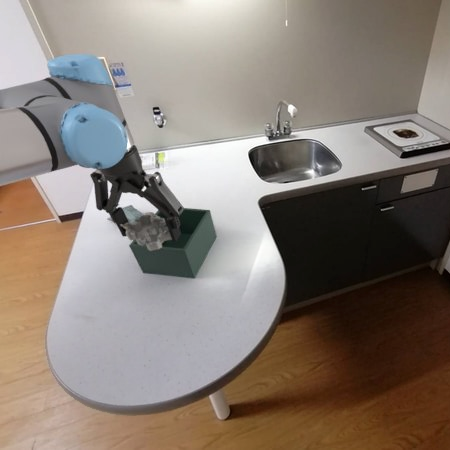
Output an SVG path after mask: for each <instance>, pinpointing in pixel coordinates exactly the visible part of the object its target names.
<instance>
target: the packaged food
mask: <svg viewBox="0 0 450 450" xmlns="http://www.w3.org/2000/svg"><path fill="white" fill-rule="evenodd" d="M122 209H123V211H124V213H125V215H126V217H127V219H128V221H129V223H130V224H133V223H134V222H135V219H138V218H140V217H141V215H144V214H145V213H143V212H141V211H140V210H138V209H136V208H135V207H134V206H133V205H132V204H130V205H127V206H124V207H122ZM106 220H107V221H109V222H112V223H114V222H113V220H112V218H111V216H109V217H107V218H106Z"/></svg>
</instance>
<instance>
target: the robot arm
mask: <svg viewBox="0 0 450 450" xmlns="http://www.w3.org/2000/svg"><path fill="white" fill-rule="evenodd" d="M104 65H105V64H104V63H103V62H102V60H101V59H100V58H99V57H98V56H97V55H93V54H89V53H75V54H66V55H60V56H57V57H55V58H54V57H53V58H51V59H49V60H48V61H47V62H46V66H47V70H48V74H49V76H48V77H45V78H44V79H43V78H42V79H40V80H35V81H31V82H27V83H22V84H19V85H15V86H10V87H6V88H2V89H0V187H2V186H7V185H10V184H13V183H17V182H21V181H23V180H27V179H28V180H29V179H31V178H34V177H38V176H42V175H45V174H49V173H52V172H56V171H59V170H64V169H67V168H71V167H74V166H79V167H82V168H84V169H93V170H94V171H93V172H92V173H90V175H89V176H90V178H91V180H92V183H93V186H94V187H93V188H94V196H95V197H94V199H95V207H96V209H97V210H98V211H105V212H106V213H107V214H109V217H111V218H112V220H113V222H112V223H114V224H115V225H116V226H117V228H118V230H119V232H120V234H121V235H122V237H127V235H126V229H125V228H123V227H121V226H120V224H123V225H124V224H125V223H127V222H129V221H128V219H127V217H126V215H125V213H124V211H123V209H122V208H123V207H121V206H120V201H121V197H122V194H129V193H130V194H133V195H137V196H139V197H140V199H141V198H143V199H145V200H146V201H147V202H149V204H151V206H153V207H155V209H157V211H158V210H159V211H160V212H161V213H163V214H164V215H165V216H166V218H165V219H164V220H165V222H166V225H167V227H168V230H169V232H170V235H171V238H172V240H173V241H174V242H176V241H177V240H178V238H179V237H180V235H181V231H180V229H179V226H180V221H179V218H178V217H179V216H180V215H181V213H182V212H183V211H184V208H185V207H184V206H183V205H182V203H181V202H180V200H179V199H178V198H177V197H176V196H175V194H174V193H173V192H172V191H171V189H170V188H169V186H167V184H166V183H165V181H164V179H163V176H162V174H161V173H160V172H159V171H155V172H154V173H147V172H146V171H145V170H144V169H143V161H142V157H141V155H140V153H139V149H138V147H137V146H136V145H135V141H134V137H133V135H132V133H131V130H130V128H129V125H128V123H127V120H126V116H125V115H124V114H125V113H124V112H123V109H122V107H121V104H120V102H119V99H118V96H117V94H116V91H115V89H114V84H113V81H112V80H111V78H110V76H109V73H108V70H107V69H106V68H105V66H104ZM108 182H109V183H110V184H111V186H110V190H109V183H108ZM144 188H145V189H144ZM169 210H170V212H169Z"/></svg>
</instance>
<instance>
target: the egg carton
mask: <svg viewBox="0 0 450 450" xmlns="http://www.w3.org/2000/svg"><path fill="white" fill-rule="evenodd" d="M143 214H144V215H141V217H140V218H138V219H135V222H134V223H133V224H130V223H129V222H127V223H125V224H124V225H123V224H120V226H121V227H123V228H125V229H126V235H127V236H126V237H127V239H128V240H129V241H131V242H132V241H133V240H135V239H136V241H137V243H138V244H139V245H141V246H142V245H145V244H146V246H147V248H148V250H150V251H152V250H156V249H160V248H161V247H162V245H161V244H162V243H163V242H164V241H167V240H171V239H172V238H171V235H170V232H169V230H168V227H167V225H166V222H165V220H164V218H161V217H159V216H157V215H155V213H153V211H148V212H145V213H143Z"/></svg>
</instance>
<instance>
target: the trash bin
mask: <svg viewBox="0 0 450 450" xmlns="http://www.w3.org/2000/svg"><path fill="white" fill-rule="evenodd" d="M169 212H170V210H169ZM154 214H155V215H157V216H159V217H161V218H164V219H165V218H166V216H165V215H164V214H163V213H161V212H160V211H159V210H158V209H157V211H156V212H155V213H154ZM178 218H179V221H180V226H179V229H180V231H181V235H180V237H179V238H178V240H177V241H176V242H174V241H173V240H172V239H171V240H167V241H164V242H163V243H162V244H161V245H162V247H161V248H160V249H156V250H152V251H150V250H148V248H147V246H146V244H145V245H142V246H141V245H139V244H138V243H137V241H136V239H135V240H132V241H131V243H130V244H129V245H128V246H129V248H130V250H131V252H132V254H133V257H134V258H135V260H136V262H137V264H138V266H139V268H140V270H141V272H142V273H143V274H149V275H150V274H152V275H158V276H159V275H160V276H168V277H170V276H171V277H177V278H188V279H196V277H197V275H198V273H199V271H200V269H201V267H202V266H203V263H204V262H205V259H206V258H207V256H208V254H209V252H210V249H211V248H212V247H213V245H214V242H215V241H216V239H217V233H216V232H217V231H216V228H215V225H214V221H213V217H212V213H211V210H210V209H203V208H190V207H189V208H188V207H184V211H183V212H182V213H181V215H180V216H179V217H178Z"/></svg>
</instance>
